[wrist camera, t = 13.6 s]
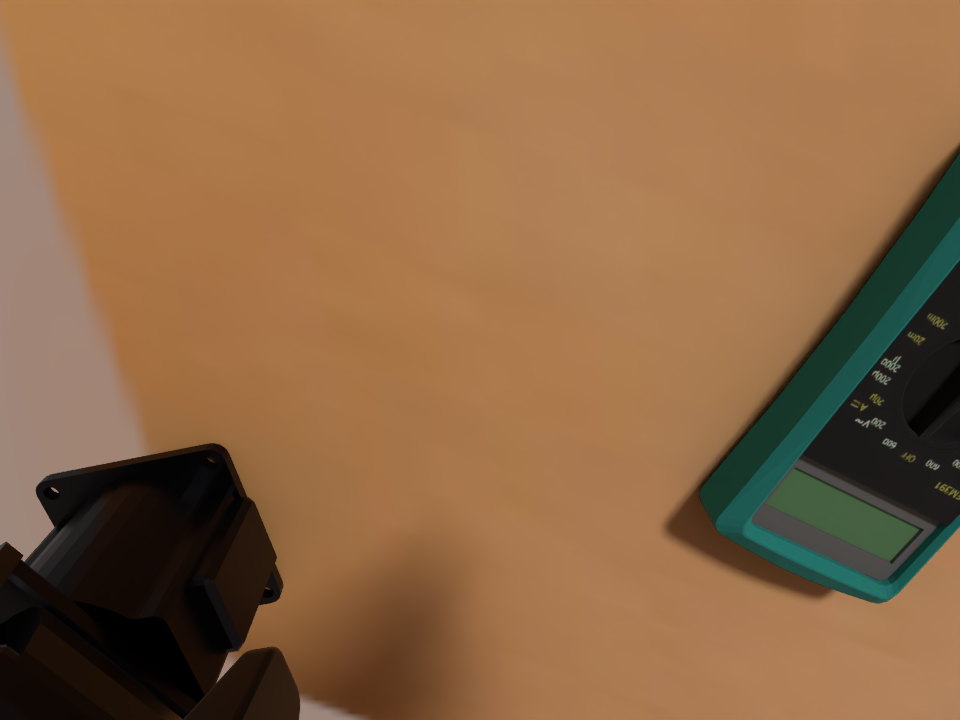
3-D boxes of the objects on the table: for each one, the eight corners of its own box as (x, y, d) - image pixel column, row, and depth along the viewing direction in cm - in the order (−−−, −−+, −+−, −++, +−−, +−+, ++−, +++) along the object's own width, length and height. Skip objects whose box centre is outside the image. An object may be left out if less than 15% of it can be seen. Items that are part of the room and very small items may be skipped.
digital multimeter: (1171, 213, 20) (1277, 236, 18) (847, 567, 26) (891, 626, 23) (988, 90, 19) (1074, 95, 16) (684, 491, 24) (711, 545, 21)
